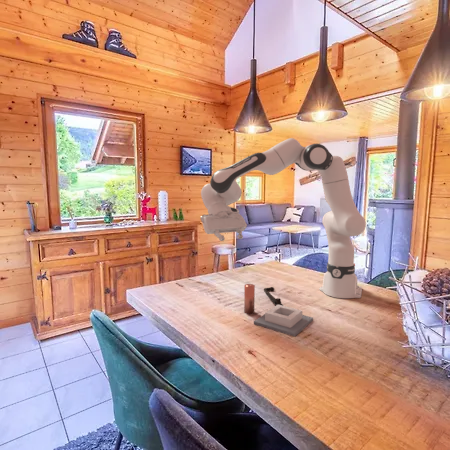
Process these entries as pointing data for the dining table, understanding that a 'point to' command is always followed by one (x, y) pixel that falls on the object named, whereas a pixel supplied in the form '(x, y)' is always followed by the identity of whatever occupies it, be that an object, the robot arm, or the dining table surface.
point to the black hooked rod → (275, 301)
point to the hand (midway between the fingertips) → (231, 239)
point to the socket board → (285, 329)
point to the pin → (249, 298)
